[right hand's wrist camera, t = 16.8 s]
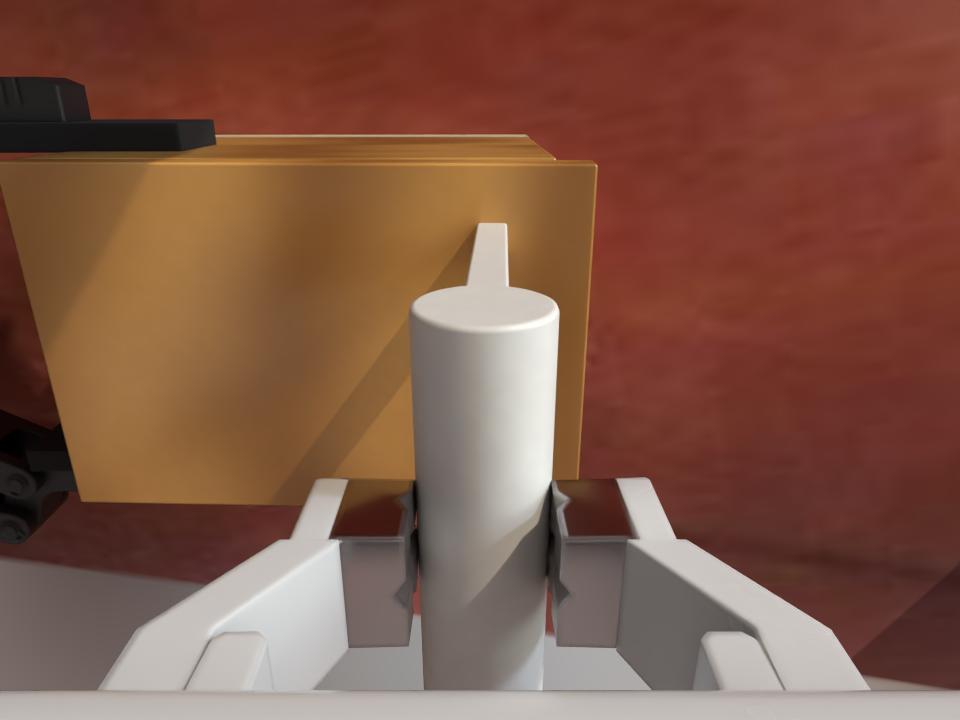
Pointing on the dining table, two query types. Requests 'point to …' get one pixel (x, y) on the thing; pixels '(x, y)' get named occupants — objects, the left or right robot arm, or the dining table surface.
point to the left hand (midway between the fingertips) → (222, 300)
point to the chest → (344, 148)
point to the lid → (329, 353)
